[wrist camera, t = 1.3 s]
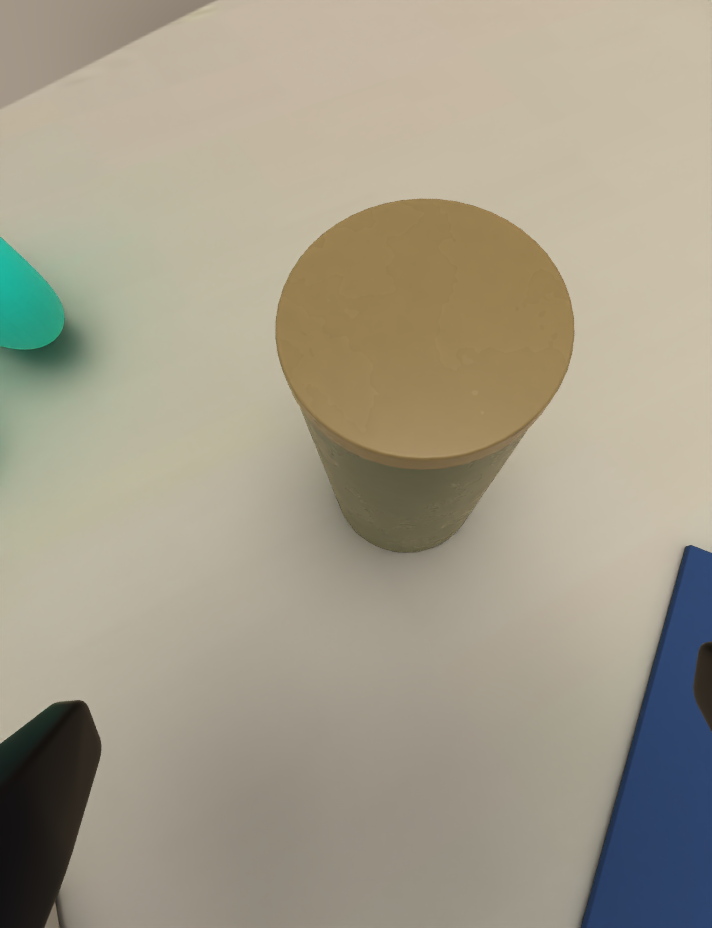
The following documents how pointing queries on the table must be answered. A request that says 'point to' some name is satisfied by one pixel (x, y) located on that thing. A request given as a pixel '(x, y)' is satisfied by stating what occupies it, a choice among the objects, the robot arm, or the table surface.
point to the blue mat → (665, 784)
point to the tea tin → (421, 359)
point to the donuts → (26, 304)
